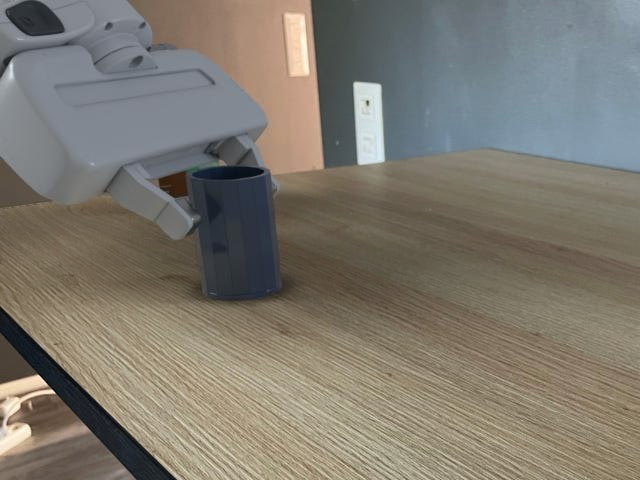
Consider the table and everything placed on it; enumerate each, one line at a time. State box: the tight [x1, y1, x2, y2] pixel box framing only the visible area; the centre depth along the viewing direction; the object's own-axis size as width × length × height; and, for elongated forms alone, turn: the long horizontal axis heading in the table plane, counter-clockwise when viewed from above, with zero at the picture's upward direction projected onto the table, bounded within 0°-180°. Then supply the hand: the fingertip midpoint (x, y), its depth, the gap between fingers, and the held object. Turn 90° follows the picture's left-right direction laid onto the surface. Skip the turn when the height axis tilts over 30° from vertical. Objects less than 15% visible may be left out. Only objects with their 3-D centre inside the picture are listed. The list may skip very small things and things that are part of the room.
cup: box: [186, 164, 283, 302], centre depth 53 cm, size 5×5×8 cm
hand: (233, 213), depth 52 cm, fingers open, 8 cm apart
